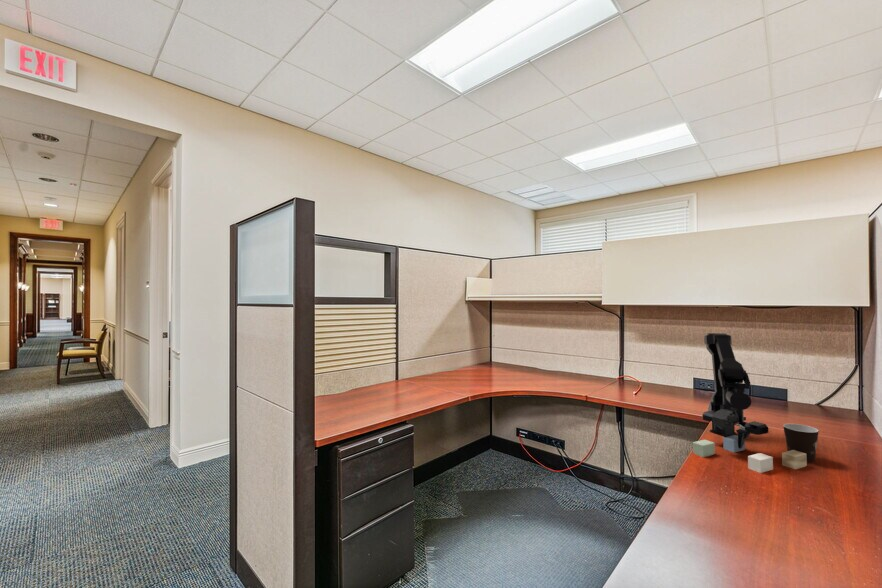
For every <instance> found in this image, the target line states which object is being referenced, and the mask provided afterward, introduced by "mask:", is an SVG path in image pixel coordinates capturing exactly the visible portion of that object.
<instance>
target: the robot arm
mask: <svg viewBox="0 0 882 588" xmlns="http://www.w3.org/2000/svg"><path fill="white" fill-rule="evenodd" d="M703 343H704V345H706V350H707V351H708V352H709V354H710V355H711V360H712V373H713V384H714V393H713V394H712V396H711V397H710V401H709V403H708V408H707V411H704V412H703V413H702V415H701V416H702V417H701V418H702V420H703V421H705V422H711V429H709V430H708V431H709V432H711V433H713V434H718V435H720V436H722V437H723V438H724V437H728V436H732V435H736V434H737V436H738V447H739V448H742V447H743V445H744V443H745V444H746V441H747V439H748V438H749V436H750V435H751V434H752V435H756V436H760V435H764V434H768V433H769V427H768V425H767V424H766V423H762V422H759V421H754V420H753V421H750V422H748V421H747V422H746V420H747V417H746V416H744V410H748V409H749V408H750V407H751V405H752V399H751V397H750V396H749V395H748V394H747V393H746V392H745V390H750V389H751V388H750V387H751V380H750V377H749V374H748V373H747V371H746V370H745V368H744V367H743V365H742V363H740V362H739V361H738V360H736V356H735V354H734V351H733V348H732V345H733V343H732V335H730V334H727V333H725V332H724V333H723V332H722V333H719V332H718V333H716V332H711V333H709V332H708V333H707V334H706V335H704V336H703ZM737 426H738V427H739V428H738V429H735V427H737Z"/></svg>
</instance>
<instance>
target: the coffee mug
mask: <svg viewBox="0 0 882 588" xmlns="http://www.w3.org/2000/svg"><path fill="white" fill-rule="evenodd" d="M782 426H783V432H784V437H785V444H786V449H787V451H791V450H795V451H799V452H802V453H806V454H807V463H814V462H815V461H816V455H817V454H816V452H817V445H818V440H819V439H818V438H819V429H818V428H815V427H813V426H809V425H806V424H798V423H784V424H783V425H782Z"/></svg>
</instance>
